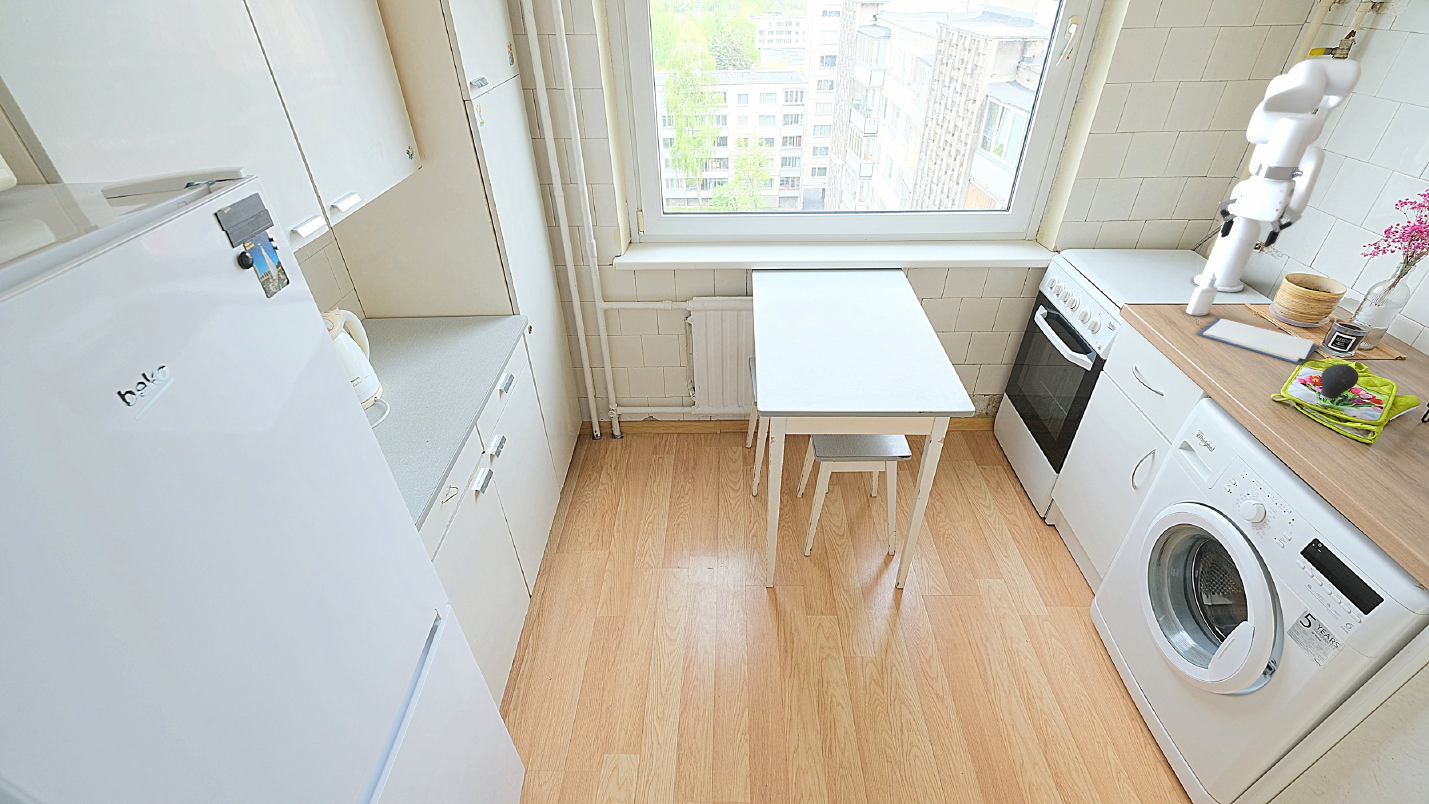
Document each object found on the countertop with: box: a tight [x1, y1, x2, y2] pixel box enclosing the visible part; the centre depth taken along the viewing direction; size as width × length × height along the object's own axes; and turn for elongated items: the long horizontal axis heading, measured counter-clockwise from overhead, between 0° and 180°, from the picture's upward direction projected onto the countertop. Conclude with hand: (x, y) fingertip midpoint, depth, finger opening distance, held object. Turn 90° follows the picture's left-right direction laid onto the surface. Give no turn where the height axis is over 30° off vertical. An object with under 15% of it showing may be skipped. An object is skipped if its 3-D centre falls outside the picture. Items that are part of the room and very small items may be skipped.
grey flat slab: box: [1196, 318, 1319, 366], centre depth 165 cm, size 16×22×1 cm
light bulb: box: [1316, 363, 1359, 408], centre depth 135 cm, size 6×6×10 cm
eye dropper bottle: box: [1185, 272, 1219, 317], centre depth 177 cm, size 4×6×12 cm
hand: (1245, 241), depth 165 cm, fingers open, 9 cm apart
